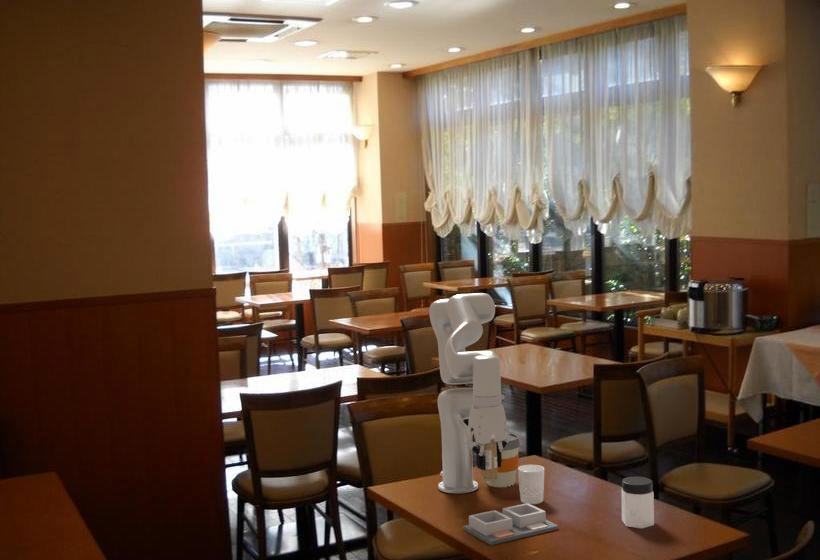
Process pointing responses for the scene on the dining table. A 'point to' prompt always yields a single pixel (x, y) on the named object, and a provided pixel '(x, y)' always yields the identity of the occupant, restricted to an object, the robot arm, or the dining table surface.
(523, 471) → the white cup
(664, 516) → the dining table surface
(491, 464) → the sprinkles bottle
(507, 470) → the reusable coffee cup
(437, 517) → the dining table surface
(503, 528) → the socket board
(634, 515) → the jar
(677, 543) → the dining table surface
